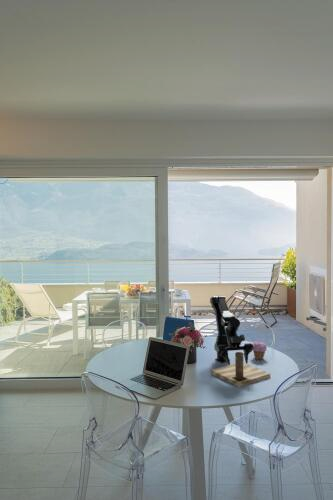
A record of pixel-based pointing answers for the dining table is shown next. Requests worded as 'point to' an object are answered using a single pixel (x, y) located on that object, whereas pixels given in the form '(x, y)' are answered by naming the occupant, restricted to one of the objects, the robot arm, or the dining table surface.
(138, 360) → the dining table surface
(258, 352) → the cupcake
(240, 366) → the stool leg
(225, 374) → the stool top
